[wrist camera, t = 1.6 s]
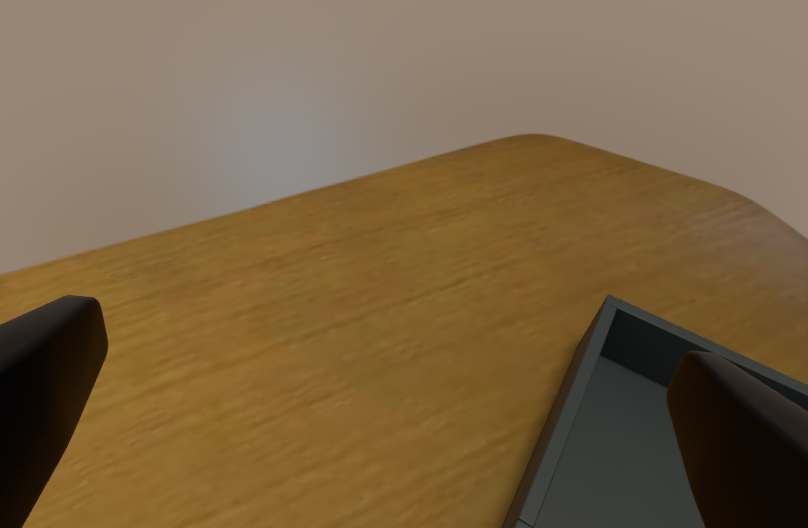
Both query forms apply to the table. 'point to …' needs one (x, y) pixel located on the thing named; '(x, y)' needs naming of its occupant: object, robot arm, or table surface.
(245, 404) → the table surface
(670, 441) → the bin
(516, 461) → the table surface
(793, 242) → the table surface
